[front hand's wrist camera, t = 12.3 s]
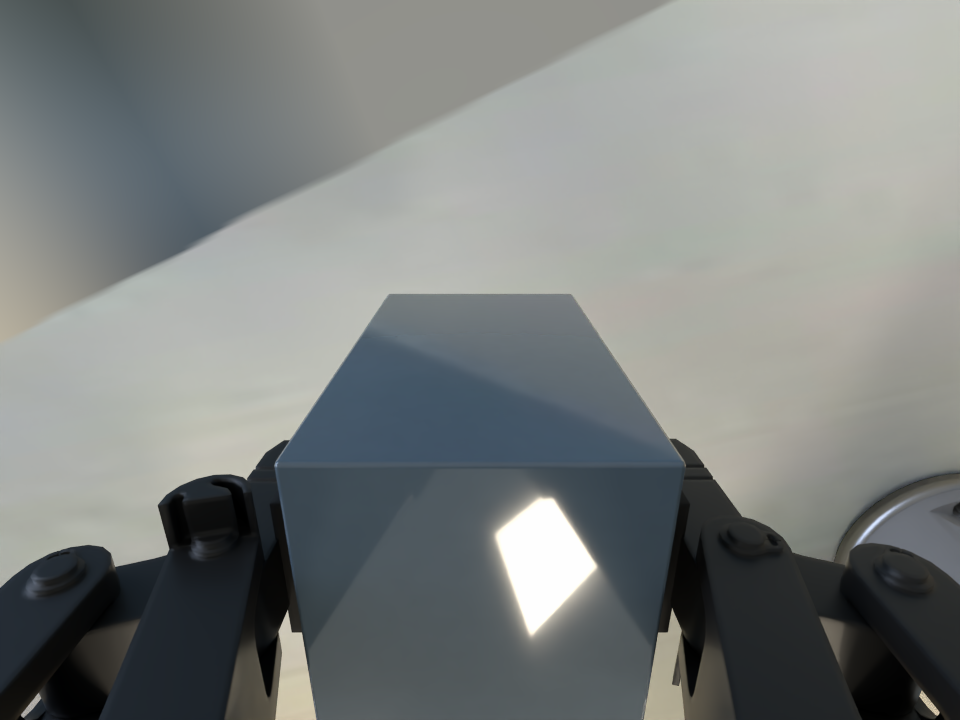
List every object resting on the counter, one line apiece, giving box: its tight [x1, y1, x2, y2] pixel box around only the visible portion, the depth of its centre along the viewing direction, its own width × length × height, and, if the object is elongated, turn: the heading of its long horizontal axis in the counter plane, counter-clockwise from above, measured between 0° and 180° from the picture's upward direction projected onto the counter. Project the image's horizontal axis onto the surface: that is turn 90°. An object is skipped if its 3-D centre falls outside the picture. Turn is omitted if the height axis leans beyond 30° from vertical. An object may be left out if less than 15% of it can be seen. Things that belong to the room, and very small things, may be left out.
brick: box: [275, 294, 686, 720], centre depth 11 cm, size 5×6×9 cm
